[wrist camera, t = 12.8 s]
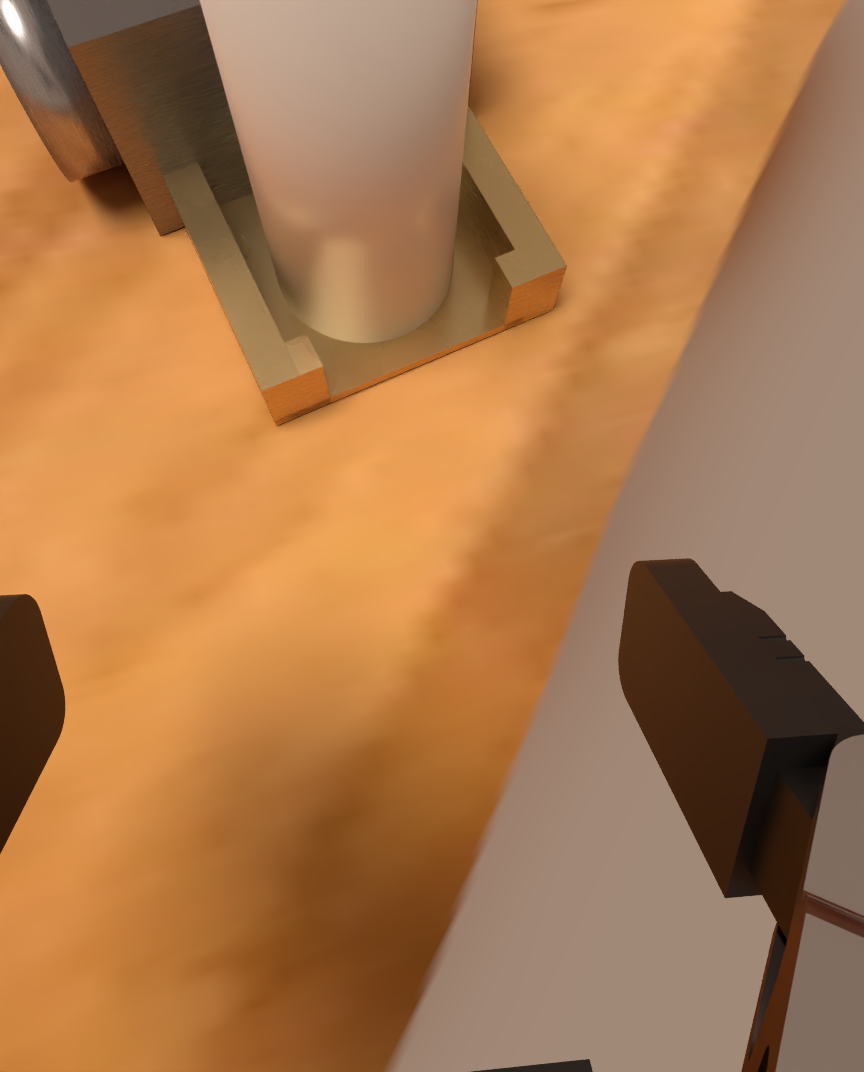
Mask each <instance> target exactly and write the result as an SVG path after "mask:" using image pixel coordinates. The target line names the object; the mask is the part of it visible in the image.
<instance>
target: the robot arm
mask: <svg viewBox="0 0 864 1072" xmlns="http://www.w3.org/2000/svg"><path fill="white" fill-rule="evenodd" d="M618 661H619V674H620V681H621V685H622V689H623V692H624V695H625V697H626V700H627V702H628V704H629V706H630V708H631V710H632V712H633V714H634V716H635V718H636V720H637V722H638V724H639V726H640V728H641V730H642V732H643V734H644V736H645V738H646V740H647V742H648V744H649V746H650V748H651V750H652V752H653V754H654V756H655V758H656V760H657V762H658V764H659V766H660V768H661V770H662V772H663V774H664V776H665V778H666V780H667V782H668V784H669V786H670V788H671V790H672V792H673V794H674V796H675V798H676V800H677V802H678V804H679V806H680V808H681V810H682V812H683V814H684V816H685V818H686V820H687V822H688V824H689V826H690V828H691V830H692V832H693V834H694V836H695V838H696V840H697V843H698V844H699V846H700V849H701V851H702V853H703V855H704V857H705V858H706V861H707V862H708V864H709V867H710V868H711V870H712V873H713V875H714V877H715V879H716V881H717V883H718V885H719V887H720V889H721V890H722V893H723V895H724V897H725V898H731V897H743V896H754V895H763V897H764V899H765V901H766V903H767V904H768V906H769V908H770V910H771V912H772V914H773V915H774V917H775V919H776V921H777V923H776V926H775V929H774V932H773V937H772V941H771V945H770V950H769V954H768V958H767V963H766V967H765V971H764V976H763V980H762V985H761V989H760V993H759V997H758V1002H757V1006H756V1011H755V1015H754V1019H753V1024H752V1028H751V1032H750V1037H749V1041H748V1046H747V1050H746V1054H745V1059H744V1063H743V1067H742V1072H864V722H863V721H862V720H861V719H860V718H859V716H858V715H857V714H856V713H855V712H854V711H853V710H852V709H851V708H850V706H849V705H848V704H847V703H846V702H845V701H844V700H843V699H842V697H841V696H840V695H839V694H838V693H837V692H836V691H835V690H834V688H832V686H831V685H830V684H829V683H828V682H827V681H826V680H825V678H824V677H823V676H822V675H821V674H820V673H819V672H818V671H817V669H816V668H815V667H814V666H813V665H812V664H811V663H810V662H809V661H805V660H804V655H803V654H802V653H801V652H800V650H799V649H798V648H797V647H796V646H795V645H794V644H793V643H792V642H791V641H790V640H789V641H787V640H786V635H785V634H784V633H783V631H782V630H781V629H780V628H779V627H778V626H777V625H776V624H775V623H774V621H773V620H772V619H771V618H770V617H769V616H768V615H767V614H766V612H765V611H763V610H762V609H760V608H758V607H756V606H755V605H753V604H752V603H750V602H748V601H747V600H745V599H743V598H742V597H740V596H738V595H736V594H735V593H733V592H732V591H729V592H720V591H719V590H718V588H717V587H716V586H715V585H714V584H713V583H712V581H711V580H710V579H709V578H708V576H707V575H706V574H705V573H704V572H703V570H702V569H701V568H700V567H699V566H698V564H697V563H695V561H694V560H692V559H669V560H649V561H637V562H635V563H634V565H633V566H632V568H631V571H630V575H629V581H628V588H627V595H626V603H625V610H624V618H623V625H622V633H621V640H620V647H619V660H618ZM64 717H65V695H64V689H63V685H62V682H61V679H60V675H59V672H58V669H57V665H56V662H55V658H54V655H53V652H52V648H51V645H50V642H49V638H48V635H47V631H46V628H45V625H44V621H43V618H42V615H41V611H40V609H39V606H38V604H37V602H36V601H35V600H34V598H32V597H31V596H30V595H26V594H21V595H1V596H0V853H1V851H2V850H3V848H4V846H5V844H6V842H7V840H8V838H9V836H10V834H11V832H12V830H13V828H14V826H15V824H16V822H17V820H18V818H19V816H20V814H21V812H22V810H23V808H24V806H25V804H26V802H27V800H28V798H29V796H30V794H31V792H32V790H33V788H34V786H35V784H36V782H37V780H38V778H39V776H40V774H41V773H42V771H43V769H44V767H45V765H46V763H47V761H48V759H49V757H50V755H51V753H52V751H53V749H54V747H55V745H56V743H57V741H58V739H59V737H60V734H61V731H62V728H63V724H64ZM473 1072H592V1067H591V1064H590V1060H589V1059H586V1060H577V1061H567V1062H558V1063H548V1064H539V1065H530V1066H520V1067H511V1068H502V1069H492V1070H483V1071H473Z"/></svg>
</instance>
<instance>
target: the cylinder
mask: <svg viewBox="0 0 864 1072" xmlns="http://www.w3.org/2000/svg"><path fill="white" fill-rule="evenodd" d="M200 4H201V7H202V11H203V15H204V18H205V22H206V25H207V29H208V32H209V36H210V40H211V43H212V47H213V50H214V54H215V58H216V61H217V65H218V68H219V72H220V76H221V79H222V83H223V86H224V90H225V94H226V97H227V101H228V104H229V108H230V112H231V115H232V119H233V122H234V126H235V130H236V133H237V137H238V140H239V144H240V148H241V151H242V155H243V158H244V162H245V165H246V169H247V173H248V176H249V180H250V183H251V187H252V191H253V194H254V198H255V201H256V205H257V209H258V212H259V216H260V219H261V223H262V227H263V230H264V234H265V237H266V241H267V245H268V248H269V252H270V255H271V259H272V263H273V266H274V270H275V273H276V277H277V281H278V284H279V288H280V290H281V293H282V295H283V298H284V299H285V301H286V303H287V304H288V306H289V307H290V309H291V310H292V311H293V312H294V314H295V315H296V316H297V317H298V318H299V319H300V320H301V321H303V322H304V323H305V324H306V325H308V326H309V327H311V328H312V329H314V330H316V331H317V332H319V333H321V334H323V335H326V336H328V337H331V338H334V339H337V340H341V341H346V342H353V343H375V342H383V341H387V340H392V339H395V338H398V337H400V336H403V335H405V334H407V333H409V332H411V331H413V330H415V329H416V328H418V327H419V326H421V325H422V324H424V323H425V322H426V321H427V320H428V319H430V318H431V317H432V315H433V314H434V313H435V312H436V311H437V310H438V308H439V307H440V306H441V304H442V303H443V301H444V299H445V297H446V295H447V293H448V290H449V287H450V284H451V279H452V272H453V261H454V250H455V239H456V228H457V217H458V206H459V195H460V184H461V173H462V162H463V151H464V140H465V129H466V118H467V107H468V96H469V85H470V74H471V63H472V53H473V42H474V31H475V20H476V9H477V0H200Z"/></svg>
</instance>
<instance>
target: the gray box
mask: <svg viewBox="0 0 864 1072" xmlns="http://www.w3.org/2000/svg"><path fill="white" fill-rule="evenodd" d="M477 1H478V0H477ZM476 13H477V9H476ZM475 25H476V20H475ZM474 36H475V31H474ZM473 48H474V42H473ZM472 59H473V53H472ZM0 65H1V67H2V69H3V70H4V72H5V74H6V76H7V78H8V80H9V82H10V84H11V86H12V88H13V89H14V91H15V93H16V95H17V97H18V99H19V101H20V102H21V104H22V106H23V108H24V110H25V111H26V113H27V115H28V117H29V119H30V120H31V122H32V124H33V126H34V128H35V129H36V131H37V133H38V134H39V136H40V138H41V140H42V141H43V143H44V145H45V146H46V148H47V150H48V151H49V153H50V155H51V156H52V158H53V159H54V161H55V163H56V164H57V166H58V167H59V169H60V170H61V172H62V173H63V174H64V176H65V177H66V178H67V179H68V180H69V181H70V182H73V181H76V180H79V179H82V178H85V177H88V176H90V175H93V174H96V173H99V172H102V171H105V170H107V169H110V168H113V167H116V166H119V165H121V164H124V163H125V165H126V167H127V169H128V171H129V173H130V175H131V177H132V179H133V181H134V183H135V185H136V187H137V189H138V191H139V193H140V195H141V198H142V200H143V202H144V204H145V206H146V208H147V210H148V212H149V214H150V216H151V218H152V220H153V222H154V224H155V226H156V228H157V230H158V232H159V234H160V236H161V235H164V234H167V233H169V232H172V231H175V230H177V229H180V228H183V227H185V228H186V231H187V233H188V235H189V237H190V239H191V241H192V244H193V246H194V248H195V250H196V252H197V254H198V257H199V259H200V261H201V263H202V265H203V267H204V270H205V272H206V274H207V276H208V278H209V280H210V283H211V285H212V287H213V289H214V291H215V293H216V296H217V298H218V300H219V302H220V304H221V306H222V309H223V311H224V313H225V315H226V317H227V319H228V321H229V324H230V326H231V328H232V330H233V332H234V334H235V337H236V339H237V341H238V343H239V345H240V347H241V350H242V352H243V354H244V356H245V358H246V360H247V363H248V365H249V367H250V369H251V371H252V373H253V376H254V378H255V380H256V382H257V384H258V386H259V389H260V391H261V393H262V395H263V397H264V399H265V402H266V404H267V406H268V408H269V410H270V412H271V415H272V417H273V419H274V421H275V423H276V425H279V424H282V423H284V422H287V421H289V420H291V419H294V418H296V417H299V416H301V415H303V414H306V413H308V412H310V411H313V410H315V409H318V408H320V407H322V406H325V405H327V404H330V403H332V402H334V401H337V400H339V399H341V398H344V397H346V396H349V395H351V394H353V393H356V392H358V391H361V390H363V389H365V388H368V387H370V386H372V385H375V384H377V383H380V382H382V381H384V380H387V379H389V378H391V377H394V376H396V375H399V374H401V373H403V372H406V371H408V370H411V369H413V368H415V367H418V366H420V365H422V364H425V363H427V362H430V361H432V360H434V359H437V358H439V357H442V356H444V355H446V354H449V353H451V352H453V351H456V350H458V349H461V348H463V347H465V346H468V345H470V344H473V343H475V342H477V341H480V340H482V339H484V338H487V337H489V336H492V335H494V334H496V333H499V332H501V331H503V330H506V329H508V328H511V327H513V326H515V325H518V324H520V323H523V322H525V321H527V320H530V319H532V318H534V317H537V316H539V315H542V314H544V313H546V312H549V311H551V310H553V308H554V305H555V302H556V298H557V295H558V292H559V289H560V286H561V283H562V280H563V276H564V273H565V270H566V267H567V265H566V263H565V262H564V260H563V259H562V257H561V255H560V254H559V252H558V250H557V249H556V247H555V246H554V244H553V242H552V241H551V239H550V237H549V236H548V234H547V233H546V231H545V229H544V228H543V226H542V224H541V223H540V221H539V220H538V218H537V216H536V215H535V213H534V211H533V210H532V208H531V207H530V205H529V203H528V202H527V200H526V198H525V197H524V195H523V193H522V192H521V190H520V189H519V187H518V185H517V184H516V182H515V180H514V179H513V177H512V176H511V174H510V172H509V171H508V169H507V167H506V166H505V164H504V163H503V161H502V159H501V158H500V156H499V154H498V153H497V151H496V150H495V148H494V146H493V145H492V143H491V141H490V140H489V138H488V137H487V135H486V133H485V132H484V130H483V128H482V127H481V125H480V124H479V122H478V120H477V119H476V117H475V115H474V114H473V112H472V111H471V109H470V107H469V96H468V107H467V118H466V129H465V140H464V151H463V162H462V173H461V184H460V195H459V206H458V217H457V228H456V239H455V250H454V261H453V272H452V279H451V284H450V287H449V290H448V293H447V295H446V297H445V299H444V301H443V303H442V304H441V306H440V307H439V308H438V310H437V311H436V312H435V313H434V314H433V315H432V317H431V318H430V319H428V320H427V321H426V322H425V323H424V324H422V325H421V326H419V327H418V328H416V329H415V330H413V331H411V332H409V333H407V334H405V335H403V336H400V337H398V338H395V339H392V340H387V341H383V342H375V343H353V342H346V341H341V340H337V339H334V338H331V337H328V336H326V335H323V334H321V333H319V332H317V331H316V330H314V329H312V328H311V327H309V326H308V325H306V324H305V323H304V322H303V321H301V320H300V319H299V318H298V317H297V316H296V315H295V314H294V312H293V311H292V310H291V309H290V307H289V306H288V304H287V303H286V301H285V299H284V298H283V295H282V293H281V290H280V288H279V284H278V281H277V277H276V273H275V270H274V266H273V263H272V259H271V255H270V252H269V248H268V245H267V241H266V237H265V234H264V230H263V227H262V223H261V219H260V216H259V212H258V209H257V205H256V201H255V198H254V194H253V191H252V187H251V183H250V180H249V176H248V173H247V169H246V165H245V162H244V158H243V155H242V151H241V148H240V144H239V140H238V137H237V133H236V130H235V126H234V122H233V119H232V115H231V112H230V108H229V104H228V101H227V97H226V94H225V90H224V86H223V83H222V79H221V76H220V72H219V68H218V65H217V61H216V58H215V54H214V50H213V47H212V43H211V40H210V36H209V32H208V29H207V25H206V22H205V18H204V15H203V11H202V7H201V4H200V0H0ZM471 71H472V63H471ZM470 83H471V74H470ZM469 94H470V85H469Z"/></svg>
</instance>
